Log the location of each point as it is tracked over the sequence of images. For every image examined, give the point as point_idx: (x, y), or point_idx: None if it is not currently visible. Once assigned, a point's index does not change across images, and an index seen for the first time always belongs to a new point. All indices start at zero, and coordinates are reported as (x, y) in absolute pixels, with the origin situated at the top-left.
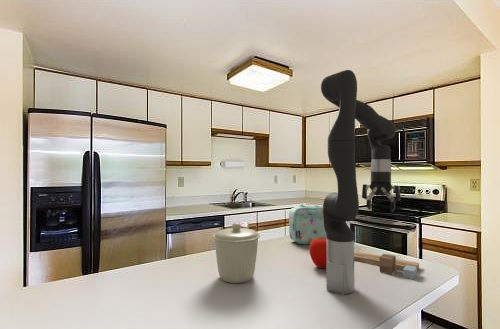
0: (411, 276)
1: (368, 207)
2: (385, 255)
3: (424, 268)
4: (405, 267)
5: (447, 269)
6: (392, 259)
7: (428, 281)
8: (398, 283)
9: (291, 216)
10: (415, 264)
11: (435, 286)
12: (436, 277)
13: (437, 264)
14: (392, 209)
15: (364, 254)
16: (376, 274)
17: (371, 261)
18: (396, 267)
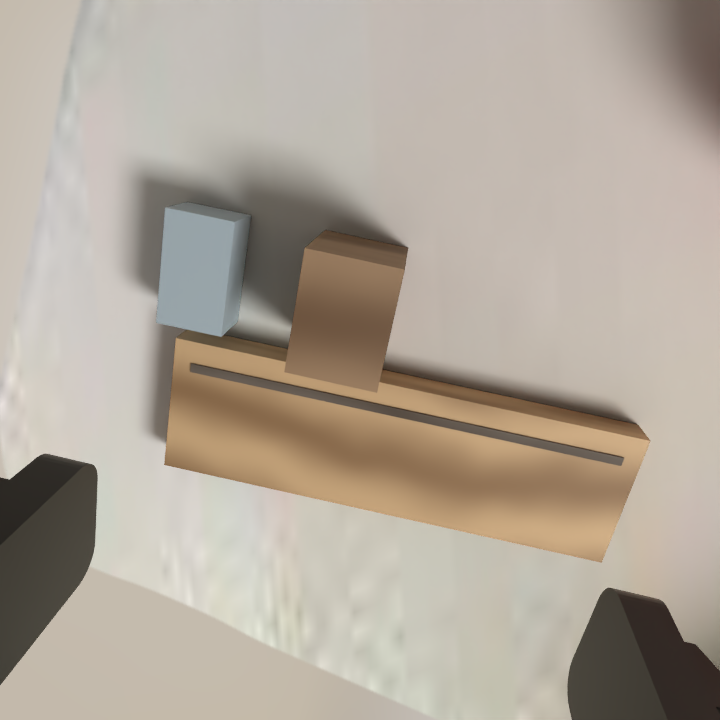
0: (195, 206)
1: (660, 621)
2: (360, 338)
3: (148, 454)
4: (223, 271)
5: None
6: (301, 272)
7: (105, 211)
8: (270, 57)
9: None
10: (181, 425)
11: (61, 136)
12: (72, 315)
13: None
14: (12, 495)
15: (535, 501)
16: (426, 171)
17: (475, 396)
18: None
